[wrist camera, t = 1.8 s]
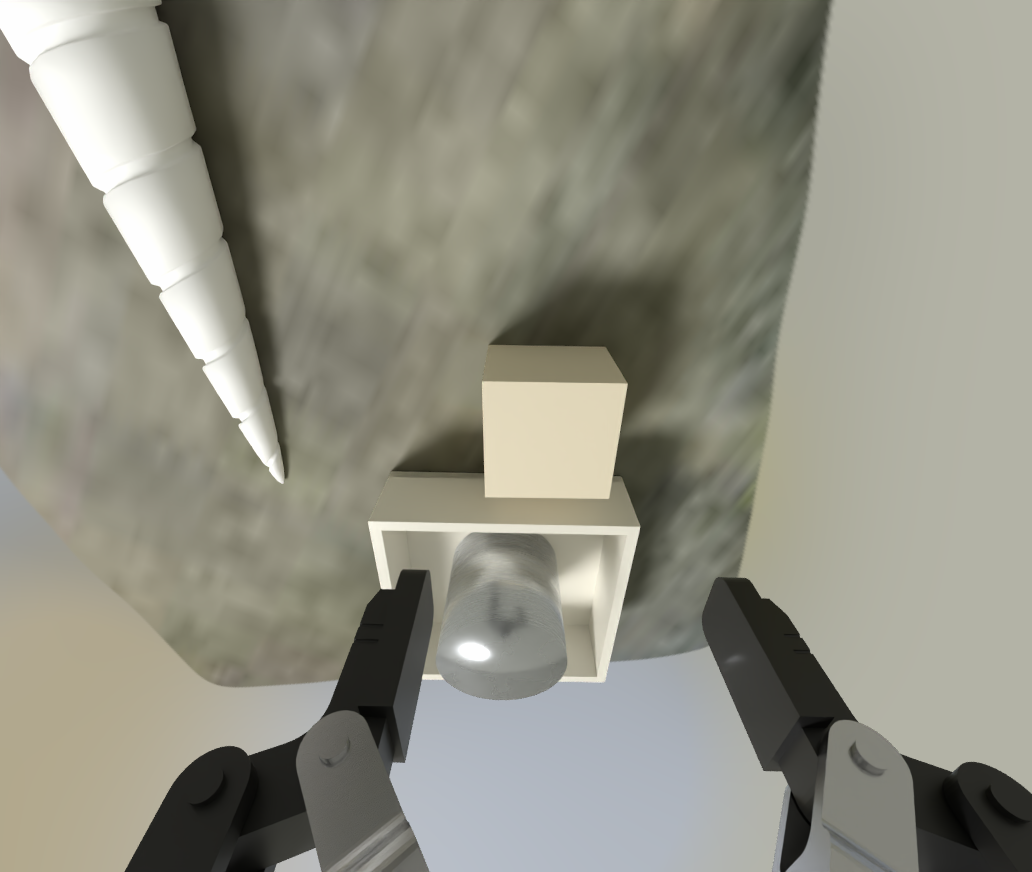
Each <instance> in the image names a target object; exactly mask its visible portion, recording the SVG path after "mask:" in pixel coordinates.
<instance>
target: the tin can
mask: <svg viewBox="0 0 1032 872" xmlns="http://www.w3.org/2000/svg"><path fill="white" fill-rule="evenodd" d="M436 666H437V669H438V671H439V673H440V675H441V676H442V677H443V679H444V680H445V681H446V682H447V683H449V684H450V685H451V686H453V687H454V688H456V689H458V690H460V691H462V692H464V693H466V694H469V695H472V696H476V697H480V698H485V699H492V700H513V699H521V698H526V697H529V696H533V695H536V694H539V693H541V692H544V691H546V690H547V689H549V688H551V687H552V686H553V685H555V684H556V683H557V682H558V681H559V680H560V679H561V678H562V676H563V675H564V673H565V671H566V668H567V651H566V642H565V633H564V624H563V615H562V606H561V597H560V588H559V578H558V569H557V560H556V555H555V552H554V549H553V548H552V546H551V545H550V543H549V542H548V541H547V540H546V539H545V538H544V537H543V536H541V535H540V534H536V533H485V532H472V533H470V534H469V535H467V536H466V537H465V538H464V539H463V540H462V541H461V542H460V543H459V545H458V546H457V548H456V550H455V553H454V557H453V563H452V569H451V574H450V580H449V586H448V591H447V597H446V603H445V608H444V614H443V620H442V625H441V631H440V637H439V642H438V648H437V654H436Z"/></svg>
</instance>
